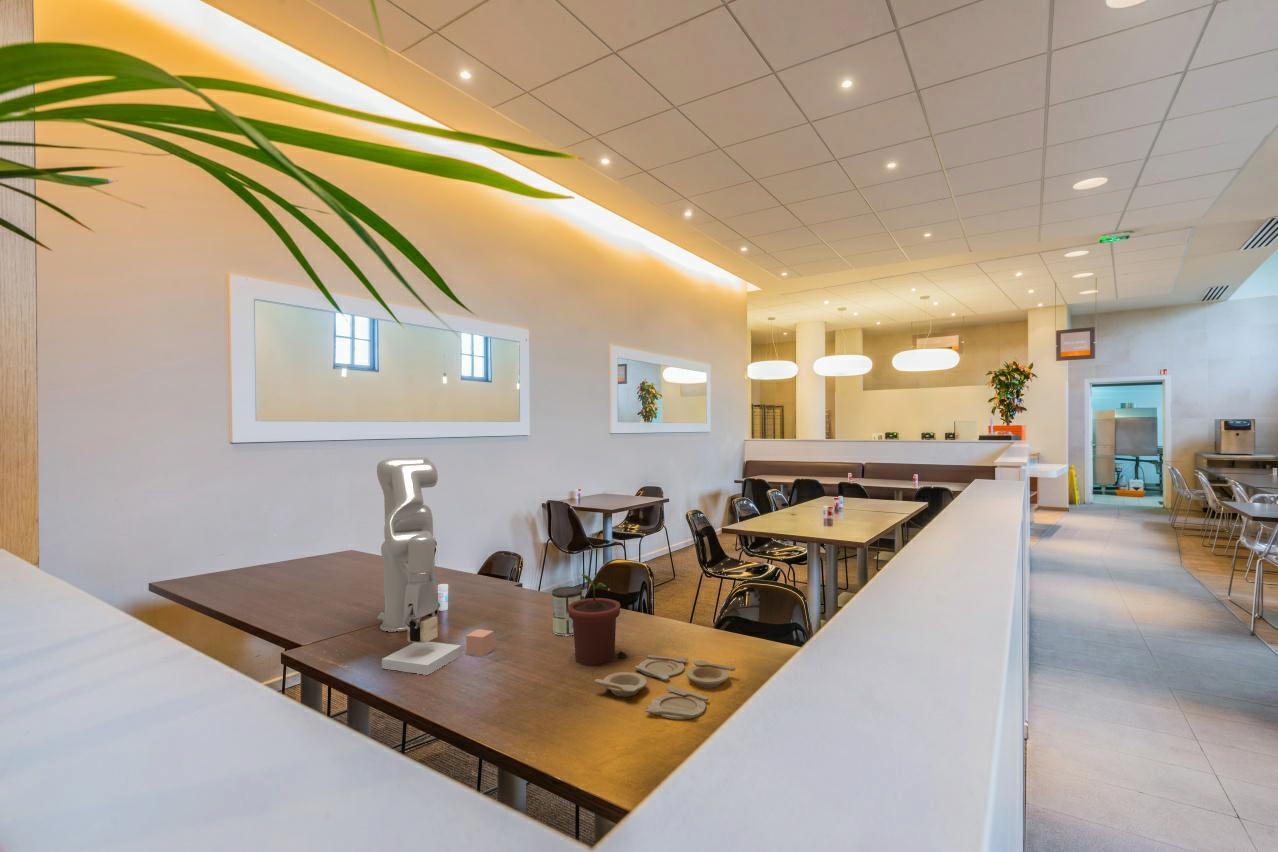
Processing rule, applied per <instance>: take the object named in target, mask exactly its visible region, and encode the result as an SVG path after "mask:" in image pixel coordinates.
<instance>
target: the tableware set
mask: <svg viewBox="0 0 1278 852" xmlns="http://www.w3.org/2000/svg"><path fill="white" fill-rule="evenodd" d="M646 656H647V659H645V660H643V661H641V662H640V663H639V664H638V665H635V666H634V669H635V670H636V671H639V672H640V673H641V674H640V673H636V672H627V671H626V672H625V671H623V672H622V671H621V672H615V673H611V674H609V675H607V676H605V677H604V678H603V679H600V678H596V679H594V683H595V684H596V685H600V686H603V687H605V688H606V689H608V690H610V691H611V693H612V694H613V695H614V694H615V695H614V696H616V695H617V697H620V696H628V697H632V696H631V695H633V696H635V695H637V693H638V692H639V690H642V689H643V688H645V686H646V685H647V680H648V679H647V678H646V677H645V676H649V677H653V678H658V679H660V680H663V681H666V682H667V681H669V679H670V678H672V677H675V676H678V675H680V674H682V673H683V672H684V671H685V669H686V668H685V664H684V663H687V661H688V660H689V658H688V657H682V656H681V657H679V656H677V657H676V656H675V657H669V656H661V655H654V654H648V655H646ZM693 664H694V665H695V666H694V665H693V666H692V667H689V668H688V669H687V670H686V673H685V675H686V678H687V679H689V681H692V682H694V684H695V685H696V686H698V687H700V688H705V689H706V688H707V689H713V688H717V687H719V686H721V683H723V682H726V681H727V680H728V679H729V677H730V673H729V671H730V672H732V671H735V670H736V666H733V665H726V664H720V663H719V664H717V663H711V662H708V661H707V660H702V659H698V660H697V659H696V660H693ZM672 668H673V669H672ZM642 674H644V675H645V676H644V675H642ZM666 691H668V692H669V693H664V694H661V695H658V696H657V697H655V698H653V699H652V701H651V702H650V704H648V705H647V707H646V709H645V710H644V712H645V713H649V714H653V715H657V716H660V717H663V718H667V719H671V720H690V719H694V718H697V717H700V716H701V715H703V714H704V713H705V712H706V708H707V706H706V702H708V701H709V697H708V696H706V695H702V694H699V693H696V692H692V691H690V690H689V691H688V690H686V689H683V688H679V687H676V686H673V685H669V686H667V687H666ZM634 694H635V695H634ZM703 712H704V713H703ZM699 715H700V716H699Z"/></svg>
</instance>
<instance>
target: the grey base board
mask: <svg viewBox="0 0 1278 852" xmlns="http://www.w3.org/2000/svg"><path fill="white" fill-rule="evenodd" d="M462 647H463V645H461V644H460V645H459V644H452V643H443V642H437V641H436V642H434V641H428V642H426V643H417V642H412V643H411V644H409V645H407V646H404V647H402V648H401V649H398V650H397V651H395V652H392V653H391V654H389V655H387V656H385V657H383V658H381V669H382V668H385V669H391V670H398V671H404V672H412V673H417V674H416V675H419V674H423V675H422V676H426V675H428V674H430V673H431V674H433V673H435V672H436V671H438V670H439V668H440V669H441V668H443V667H445V666H446V665H448V664H450V663H451V662H453V661H455V660H456V659H458V658H460V657H461V656H462V653H463V651H462V650H463V649H462ZM449 662H450V663H449ZM444 665H445V666H444ZM442 666H443V667H442ZM437 669H438V670H437ZM435 670H436V671H435ZM434 671H435V672H434ZM404 672H403V673H404ZM432 672H433V673H432ZM431 674H430V675H431ZM428 676H429V675H428Z"/></svg>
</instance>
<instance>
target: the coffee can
mask: <svg viewBox="0 0 1278 852" xmlns="http://www.w3.org/2000/svg"><path fill="white" fill-rule="evenodd" d="M551 596H552V600H551V601H552V634H553V633H555V634H558V635H563V636H562V637H573V636H572V635H574V631H573V620H572V619H571V618H570V617H569V612H568V606H569V604H571V603H572V602H575V601H578V600H583V589H582V588H581V587H578V586H560V587H556V588H554V589H552V590H551ZM555 634H554V635H555ZM564 635H565V636H564ZM569 635H571V636H569Z"/></svg>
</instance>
